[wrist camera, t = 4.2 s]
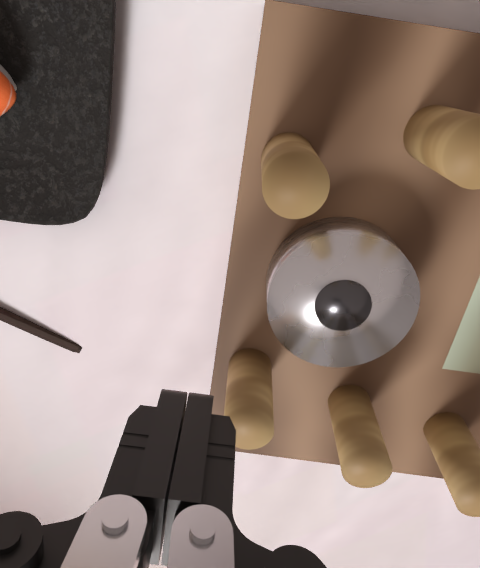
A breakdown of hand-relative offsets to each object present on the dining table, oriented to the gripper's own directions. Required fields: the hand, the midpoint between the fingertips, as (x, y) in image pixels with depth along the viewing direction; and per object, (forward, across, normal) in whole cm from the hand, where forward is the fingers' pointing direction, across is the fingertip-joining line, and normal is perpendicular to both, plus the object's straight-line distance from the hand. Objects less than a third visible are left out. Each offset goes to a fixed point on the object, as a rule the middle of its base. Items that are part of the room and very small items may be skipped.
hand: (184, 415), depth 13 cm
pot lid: (+11, -6, 0) cm, 13 cm away
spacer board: (+12, -10, 0) cm, 16 cm away
